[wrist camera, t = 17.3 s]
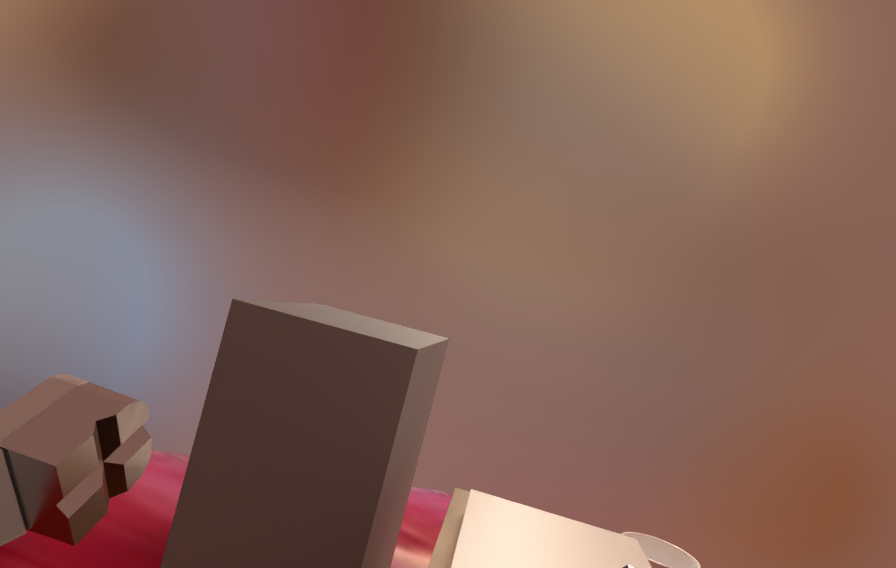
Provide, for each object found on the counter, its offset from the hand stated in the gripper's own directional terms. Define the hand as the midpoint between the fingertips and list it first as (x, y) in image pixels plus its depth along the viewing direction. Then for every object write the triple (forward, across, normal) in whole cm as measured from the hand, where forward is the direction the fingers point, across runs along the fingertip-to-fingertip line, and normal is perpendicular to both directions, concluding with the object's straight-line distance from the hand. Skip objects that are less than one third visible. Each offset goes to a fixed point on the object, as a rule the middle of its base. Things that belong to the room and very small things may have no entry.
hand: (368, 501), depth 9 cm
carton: (+14, +9, +39) cm, 42 cm away
